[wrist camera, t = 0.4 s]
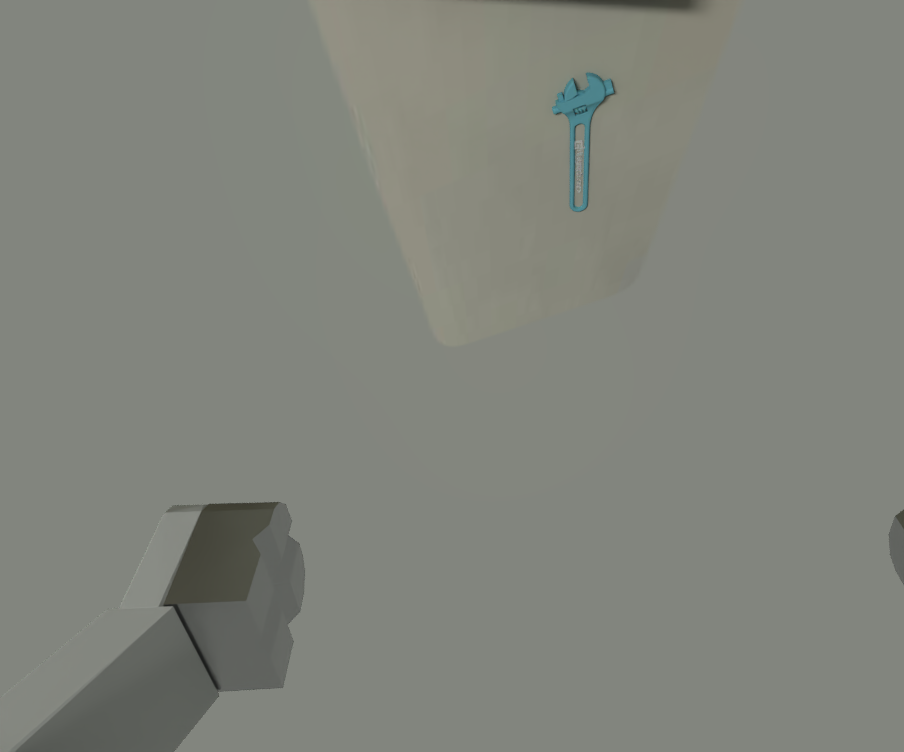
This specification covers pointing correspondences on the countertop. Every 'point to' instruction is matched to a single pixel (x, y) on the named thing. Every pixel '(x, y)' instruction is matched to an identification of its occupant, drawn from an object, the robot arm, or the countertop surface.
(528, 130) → the countertop surface
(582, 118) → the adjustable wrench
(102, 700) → the robot arm
